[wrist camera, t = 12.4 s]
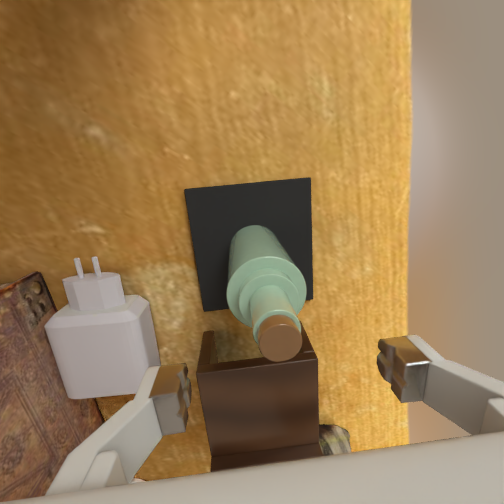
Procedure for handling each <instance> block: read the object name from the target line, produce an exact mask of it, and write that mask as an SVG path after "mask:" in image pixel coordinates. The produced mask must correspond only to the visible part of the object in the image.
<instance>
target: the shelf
mask: <svg viewBox="0 0 504 504" xmlns="http://www.w3.org/2000/svg"><path fill="white" fill-rule="evenodd" d="M300 324H301V336H302V346H301V349H300V351H299V352H298V353H297V354H296V355H295V356H294V357H293V358H291V359H289V360H287V361H282V362H276V361H271V360H269V359H267V358H266V357H264V358H255V359H247V360H239V361H231V362H223V363H218V357H217V350H216V344H215V337H214V331H207V332H204V334H203V340H202V345H201V350H200V356H199V361H198V367H197V372H196V376H197V381H198V387H199V392H200V397H201V403H202V408H203V413H204V419H205V424H206V430H207V435H208V440H209V446H210V451H211V456H212V458H211V470H210V471H211V472H216V471H223V470H230V469H238V468H245V467H252V466H259V465H266V464H273V463H280V462H287V461H294V460H301V459H308V458H315V457H322V456H323V453H322V450H321V446H320V443H319V403H318V358H317V356H316V354H315V352H314V350H313V347H312V345H311V343H310V341H309V339H308V336H307V334H306V332H305V330H304V328H303V325H302V323H301V321H300Z"/></svg>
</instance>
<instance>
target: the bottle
mask: <svg viewBox="0 0 504 504" xmlns="http://www.w3.org/2000/svg"><path fill="white" fill-rule="evenodd" d="M306 291H307V289H306V283H305V280H304V277H303V275H302V273H301V272H300V270H299V269H298V267H297V266H296V265H295V263H294V262H293V260H292V259H291V257H290V256H289V254H288V253H287V251H286V250H285V249H284V247H283V246H282V244H281V243H280V241H279V240H278V238H277V237H276V235H275V234H274V233H273V232H272V231H271V230H269V229H268V228H266V227H263V226H259V225H252V226H247V227H244V228H242V229H241V230H239V231H238V232H237V233H236V234H235V235H234V236H233V238H232V240H231V242H230V246H229V260H228V278H227V302H228V305H229V308H230V310H231V312H232V313H233V315H234V316H235V317H236V318H237V319H238V320H239V321H240V322H242V323H243V324H245V325H247V326H249V327H252V330H253V337H254V340H255V342H256V343H257V344H258V346H259V350H260V352H261V353H262V355H263V356H264V357H266V358H267V359H269V360H271V361H276V362H282V361H287V360H289V359H291V358H293V357H294V356H295V355H296V354H297V353H298V352H299V351H300V349H301V346H302V336H301V324H300V321H299V319H298V317H297V315H298V313H299V312H300V311H301V309H302V307H303V305H304V302H305V299H306Z"/></svg>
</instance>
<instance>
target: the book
mask: <svg viewBox="0 0 504 504" xmlns="http://www.w3.org/2000/svg"><path fill="white" fill-rule="evenodd" d="M56 312H57V309H56V307H55V305H54V302H53V300H52V297H51V295H50V293H49V290H48V288H47V286H46V283H45V281H44V279H43V276H42V274H41V273H40V272H32V273H30V274H28V275H26V276H24V277H22V278H20V279H18V280H16V281H15V282H13V283H7V284H1V285H0V502H5V501H12V500H19V499H26V498H33V497H40V496H45V494H46V492H47V491H48V489H49V487H50V485H51V484H52V482H53V480H54V478H55V477H56V475H57V473H58V471H59V470H60V468H61V466H62V464H63V463H64V461H65V459H66V457H67V456H68V454H69V453H71V452H72V451H73V450H74V449H75V448H76V447H77V446H79V445H80V444H81V443H82V442H83V441H84V440H85V439H87V438H88V437H89V436H90V435H91V434H92V433H93V432H94V431H96V430H97V429H98V428H99V427H100V426H101V425H102V424H104V423H105V422H104V420H103V417H102V415H101V413H100V410H99V408H98V406H97V403H96V401H95V399H94V398H85V399H71V398H69V397H68V396H67V393H66V390H65V387H64V384H63V381H62V378H61V375H60V372H59V369H58V366H57V363H56V360H55V357H54V354H53V351H52V348H51V345H50V342H49V339H48V336H47V333H46V330H45V327H44V326H45V324H46V323H47V322H48V321H49V319H50V318H51V317H52V316H53V315H54V314H55V313H56Z"/></svg>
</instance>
